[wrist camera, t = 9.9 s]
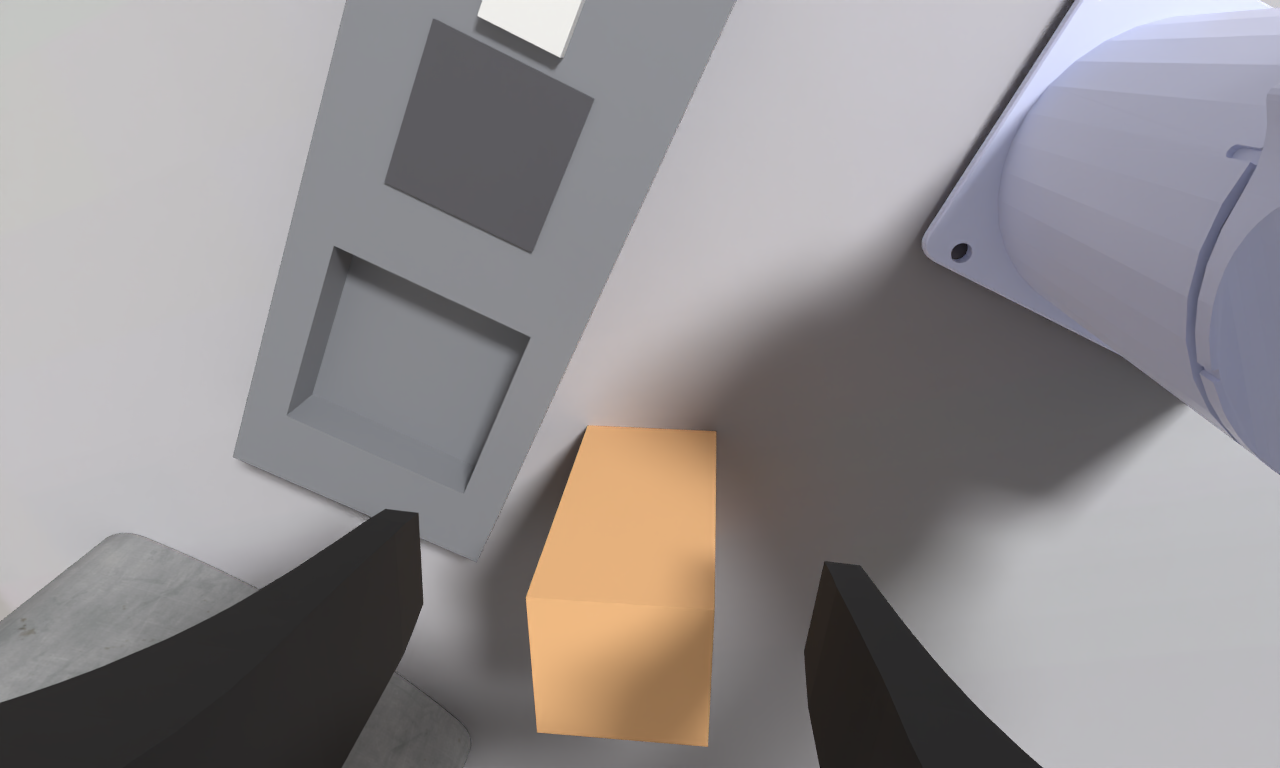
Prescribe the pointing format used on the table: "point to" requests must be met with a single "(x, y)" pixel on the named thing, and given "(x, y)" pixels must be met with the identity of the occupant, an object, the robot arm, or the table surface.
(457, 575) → the table surface
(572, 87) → the power strip
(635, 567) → the plug
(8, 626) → the hip flask
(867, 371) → the table surface
